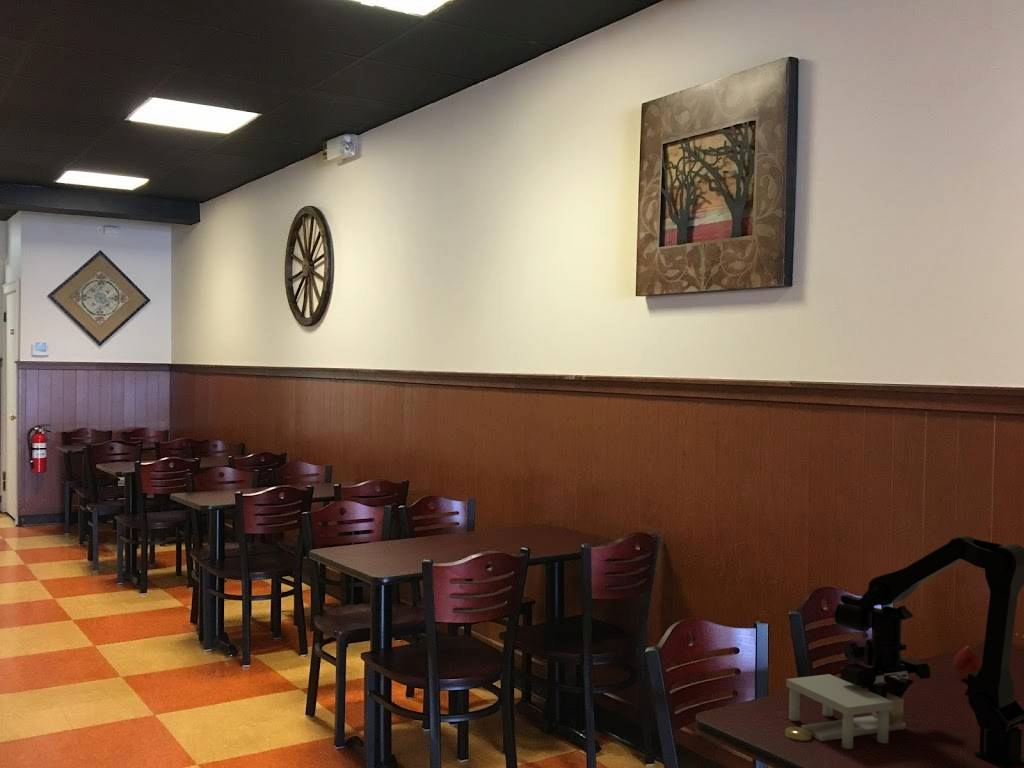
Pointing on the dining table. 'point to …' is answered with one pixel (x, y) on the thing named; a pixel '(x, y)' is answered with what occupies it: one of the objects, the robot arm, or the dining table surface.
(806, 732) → the token
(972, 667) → the onion
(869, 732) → the scraper
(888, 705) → the miniature white bench
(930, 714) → the dining table surface
